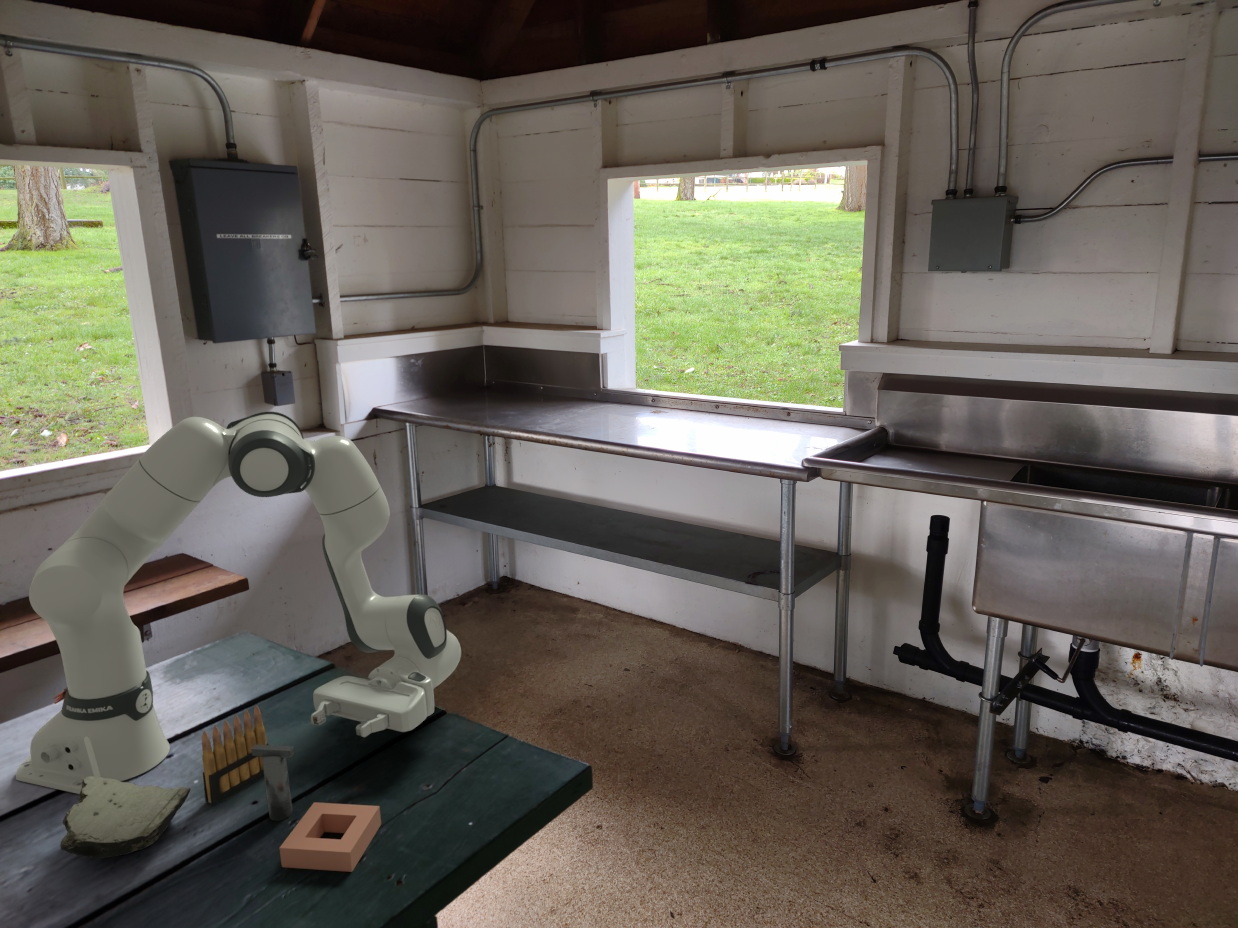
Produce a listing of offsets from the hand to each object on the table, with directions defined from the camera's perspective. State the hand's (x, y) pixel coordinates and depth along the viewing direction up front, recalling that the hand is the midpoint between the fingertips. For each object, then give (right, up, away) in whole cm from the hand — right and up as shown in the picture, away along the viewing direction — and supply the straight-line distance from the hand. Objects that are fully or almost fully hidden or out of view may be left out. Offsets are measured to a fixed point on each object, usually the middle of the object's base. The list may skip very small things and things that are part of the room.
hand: (336, 726), depth 135 cm
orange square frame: (+5, -12, -16) cm, 21 cm away
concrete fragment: (-26, -12, -15) cm, 32 cm away
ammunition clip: (-14, -9, -2) cm, 17 cm away
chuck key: (-5, -10, -9) cm, 15 cm away
